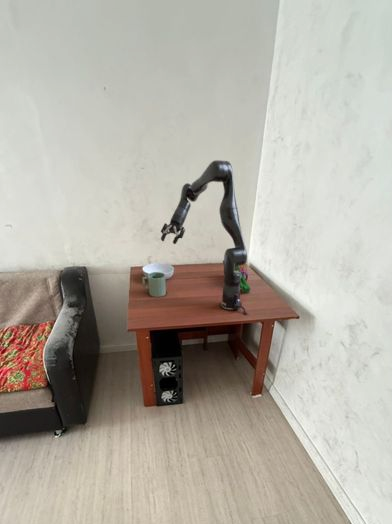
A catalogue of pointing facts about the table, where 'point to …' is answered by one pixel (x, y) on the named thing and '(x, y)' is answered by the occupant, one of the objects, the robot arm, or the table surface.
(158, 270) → the serving bowl
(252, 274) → the table surface
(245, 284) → the bouquet
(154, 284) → the green coffee mug
